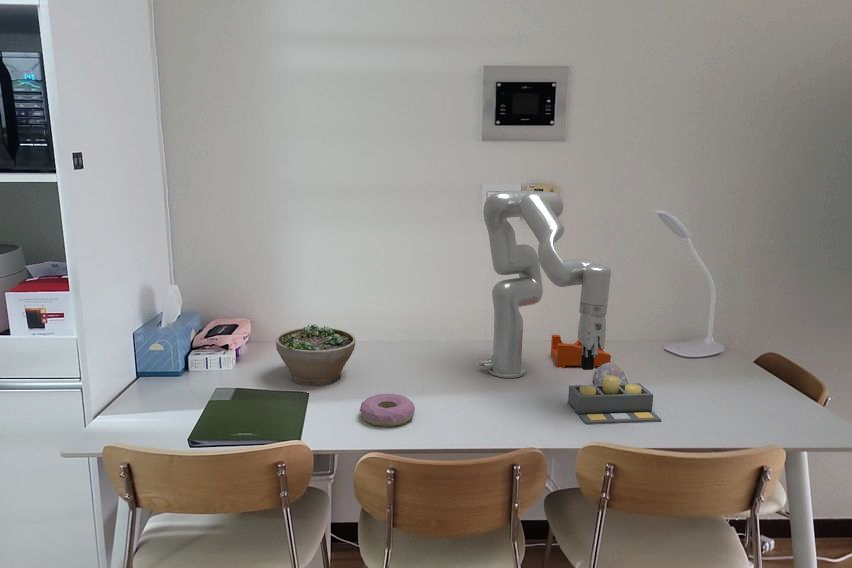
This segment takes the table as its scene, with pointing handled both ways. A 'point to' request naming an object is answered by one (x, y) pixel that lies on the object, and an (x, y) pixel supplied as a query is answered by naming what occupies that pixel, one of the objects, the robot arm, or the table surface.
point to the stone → (608, 373)
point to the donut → (387, 409)
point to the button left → (587, 390)
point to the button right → (633, 389)
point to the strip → (619, 418)
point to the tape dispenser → (573, 353)
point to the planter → (315, 354)
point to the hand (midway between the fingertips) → (586, 368)
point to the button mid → (610, 385)
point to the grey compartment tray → (610, 401)
